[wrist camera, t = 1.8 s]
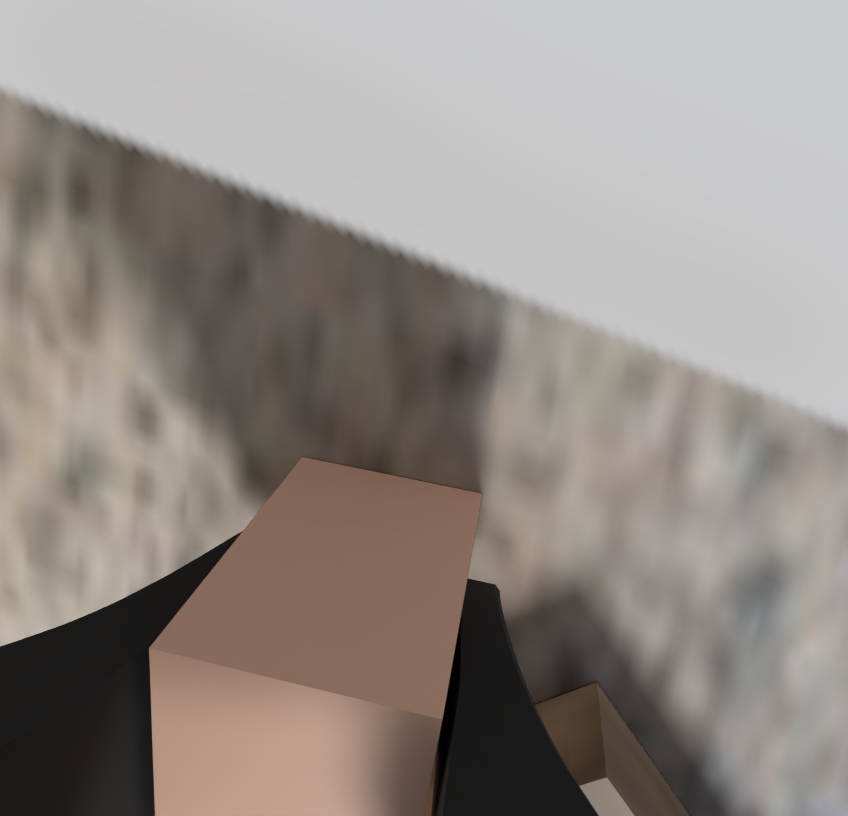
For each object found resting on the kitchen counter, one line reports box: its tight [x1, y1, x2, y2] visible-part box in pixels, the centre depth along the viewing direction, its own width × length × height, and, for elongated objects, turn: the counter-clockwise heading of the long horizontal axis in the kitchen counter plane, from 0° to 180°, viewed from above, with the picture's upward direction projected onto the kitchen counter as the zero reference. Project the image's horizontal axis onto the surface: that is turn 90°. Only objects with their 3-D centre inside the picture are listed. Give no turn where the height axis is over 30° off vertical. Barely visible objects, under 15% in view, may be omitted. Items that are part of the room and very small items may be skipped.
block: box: [149, 457, 482, 816], centre depth 12 cm, size 4×4×6 cm
